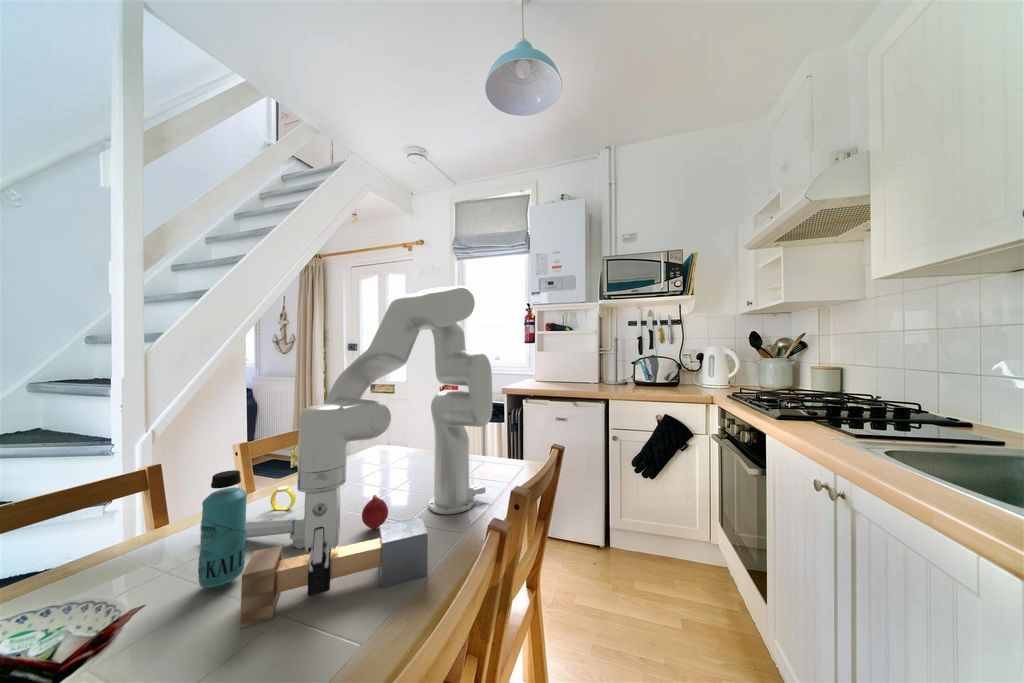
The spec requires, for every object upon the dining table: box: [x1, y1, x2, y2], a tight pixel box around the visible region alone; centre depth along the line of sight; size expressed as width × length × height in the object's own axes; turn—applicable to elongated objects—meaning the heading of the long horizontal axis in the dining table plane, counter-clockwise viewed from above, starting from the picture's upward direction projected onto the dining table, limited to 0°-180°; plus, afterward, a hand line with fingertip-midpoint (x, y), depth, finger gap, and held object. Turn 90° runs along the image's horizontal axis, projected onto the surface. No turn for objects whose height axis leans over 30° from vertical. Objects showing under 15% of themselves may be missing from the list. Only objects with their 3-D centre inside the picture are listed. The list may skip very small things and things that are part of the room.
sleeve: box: [378, 516, 429, 589], centre depth 64 cm, size 8×7×8 cm
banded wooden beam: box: [274, 537, 382, 594], centre depth 59 cm, size 19×5×5 cm, turn 115°
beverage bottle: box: [197, 469, 248, 589], centre depth 60 cm, size 6×7×20 cm
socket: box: [239, 544, 283, 629], centre depth 54 cm, size 4×7×8 cm, turn 25°
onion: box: [361, 494, 389, 530], centre depth 79 cm, size 6×6×8 cm
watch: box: [270, 485, 296, 511], centre depth 90 cm, size 6×3×6 cm, turn 89°
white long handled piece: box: [245, 514, 305, 550], centre depth 74 cm, size 5×7×25 cm
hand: (320, 580), depth 58 cm, fingers closed on banded wooden beam, 4 cm apart
